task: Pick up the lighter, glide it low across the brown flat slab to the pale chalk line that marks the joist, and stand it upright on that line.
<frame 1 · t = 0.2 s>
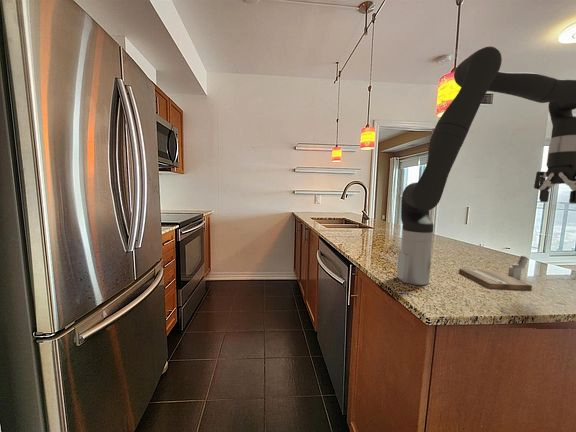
hand: (557, 202, 84), 28 cm above the counter, tool pointing down, fingers open, 8 cm apart
lighter: (516, 278, 94), on the counter
brown flat slab: (491, 280, 90), on the counter
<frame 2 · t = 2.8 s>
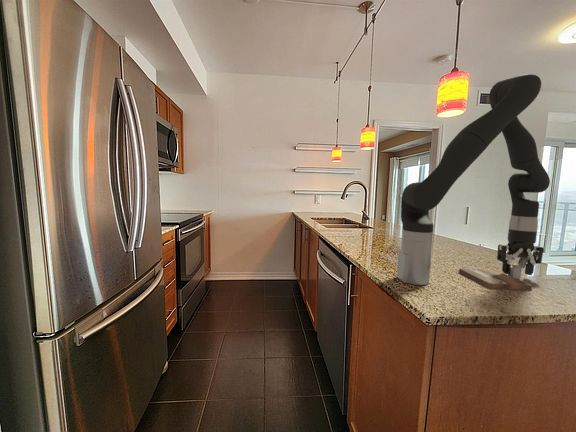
hand: (517, 273, 94), 2 cm above the counter, tool pointing down, fingers closed on lighter, 7 cm apart
lighter: (516, 278, 94), on the counter, touching gripper
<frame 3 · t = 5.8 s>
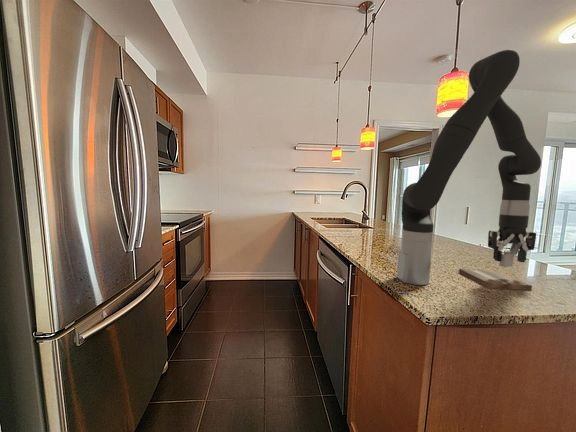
hand: (509, 261, 89), 7 cm above the counter, tool pointing down, fingers closed on lighter, 7 cm apart
lighter: (508, 266, 89), point 5 cm above the counter, touching gripper
when the fingers open (4 cm above the counter, at t = 9.1 s): lighter stays where it is, resting on brown flat slab.
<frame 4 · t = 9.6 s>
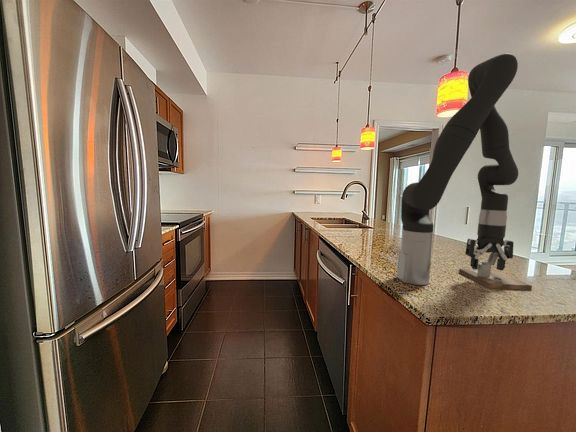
hand: (487, 269, 90), 4 cm above the counter, tool pointing down, fingers open, 8 cm apart
lighter: (486, 276, 90), point 1 cm above the counter, touching brown flat slab
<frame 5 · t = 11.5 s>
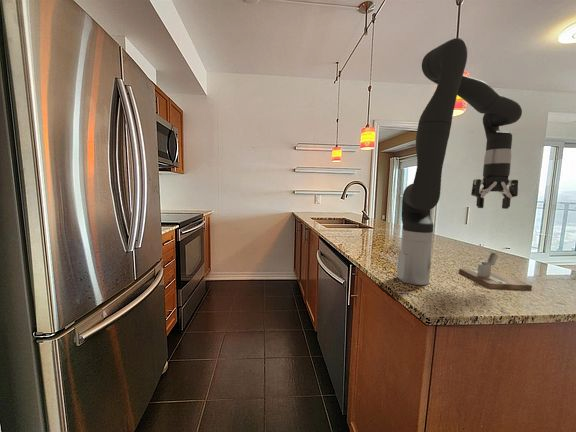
hand: (492, 208, 94), 25 cm above the counter, tool pointing down, fingers open, 8 cm apart
nothing on the counter moved.
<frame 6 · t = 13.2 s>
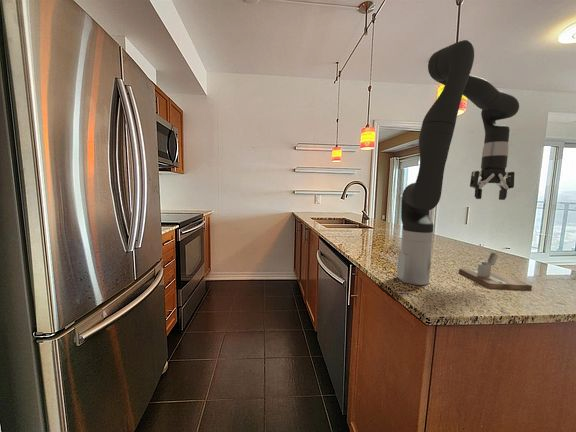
hand: (490, 199, 97), 28 cm above the counter, tool pointing down, fingers open, 8 cm apart
nothing on the counter moved.
at the end: lighter inside the target area (0.1 cm from its centre), point 1.4 cm above the counter; lighter tilted 0°; the gripper is holding nothing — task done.
